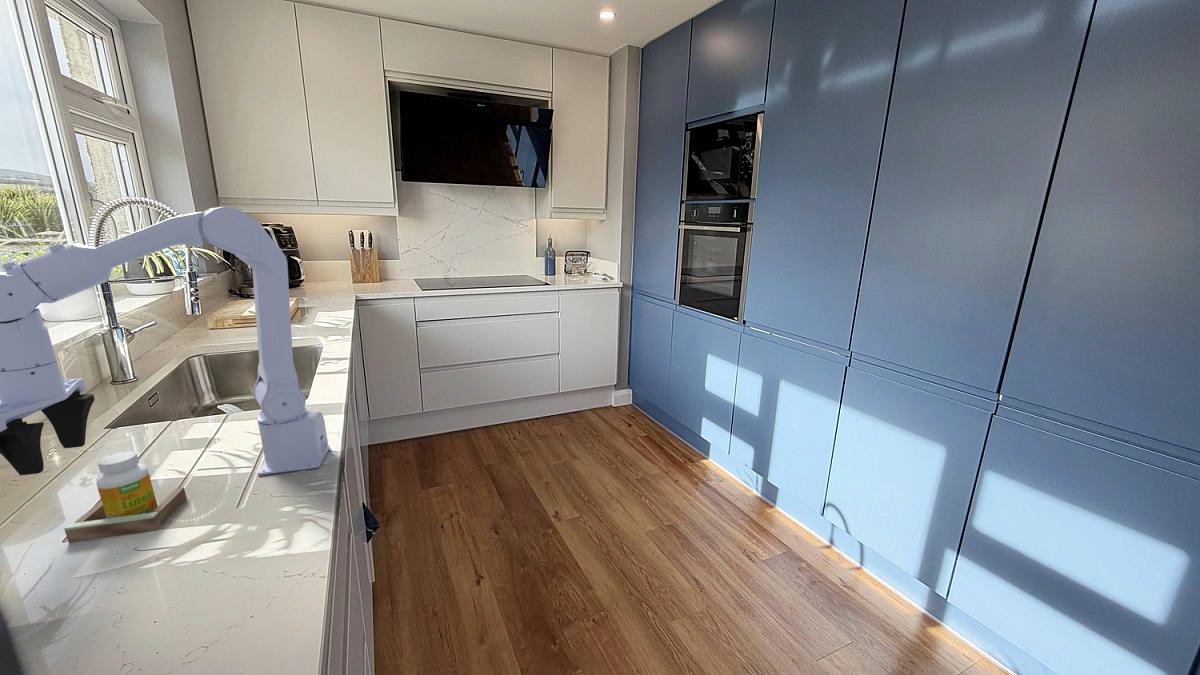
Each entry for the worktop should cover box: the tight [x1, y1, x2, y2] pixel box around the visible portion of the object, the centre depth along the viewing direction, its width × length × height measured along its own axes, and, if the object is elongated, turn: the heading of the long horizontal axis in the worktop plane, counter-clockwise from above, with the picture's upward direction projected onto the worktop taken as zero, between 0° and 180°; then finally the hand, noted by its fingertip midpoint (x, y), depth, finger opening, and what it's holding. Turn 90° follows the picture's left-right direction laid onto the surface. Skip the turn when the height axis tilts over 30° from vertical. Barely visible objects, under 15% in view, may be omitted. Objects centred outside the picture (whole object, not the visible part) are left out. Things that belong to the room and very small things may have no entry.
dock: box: [64, 487, 188, 544], centre depth 71 cm, size 10×8×2 cm
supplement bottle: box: [95, 450, 159, 519], centre depth 70 cm, size 5×5×10 cm
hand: (54, 459), depth 67 cm, fingers open, 7 cm apart
